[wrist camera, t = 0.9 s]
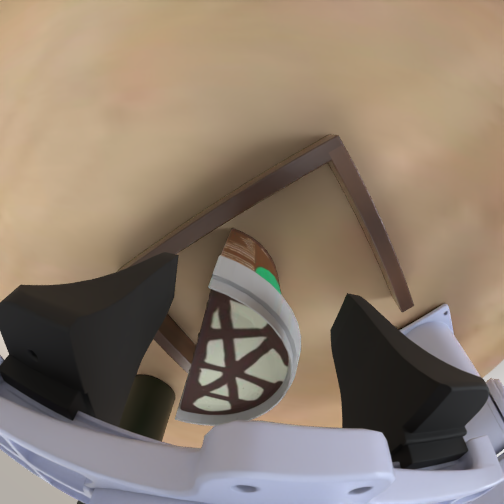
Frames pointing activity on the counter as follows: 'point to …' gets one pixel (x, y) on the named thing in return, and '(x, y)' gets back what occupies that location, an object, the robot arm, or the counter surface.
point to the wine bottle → (147, 408)
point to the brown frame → (260, 189)
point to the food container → (241, 340)
